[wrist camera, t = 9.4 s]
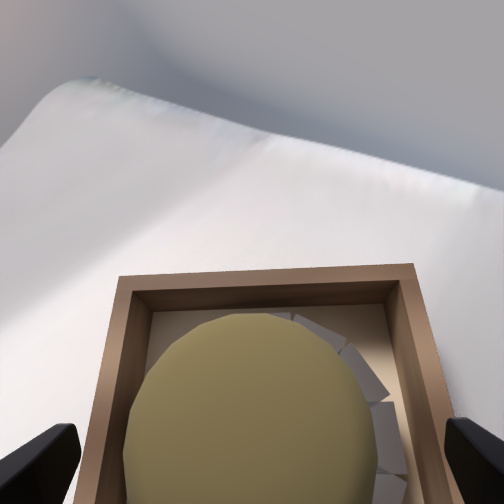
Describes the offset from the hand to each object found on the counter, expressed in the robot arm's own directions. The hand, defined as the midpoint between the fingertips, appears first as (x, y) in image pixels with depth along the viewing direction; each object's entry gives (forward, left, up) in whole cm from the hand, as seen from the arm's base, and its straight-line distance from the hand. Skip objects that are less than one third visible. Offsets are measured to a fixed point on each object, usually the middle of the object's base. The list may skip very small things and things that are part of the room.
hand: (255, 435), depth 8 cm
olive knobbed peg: (0, 0, -8) cm, 8 cm away
